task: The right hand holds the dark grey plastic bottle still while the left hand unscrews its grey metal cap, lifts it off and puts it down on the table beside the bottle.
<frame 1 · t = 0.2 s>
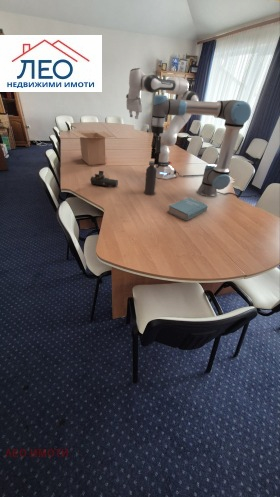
left hand: (133, 118, 170), 48 cm above the table, tool pointing down, fingers open, 8 cm apart
right hand: (154, 161, 148), 28 cm above the table, tool pointing down, fingers open, 13 cm apart
box: (93, 161, 237), on the table
cap: (152, 162, 162), point 24 cm above the table, screwed on, not yet turned
bottle: (149, 192, 176), on the table
book: (187, 212, 153), on the table
laser sight: (104, 185, 183), on the table
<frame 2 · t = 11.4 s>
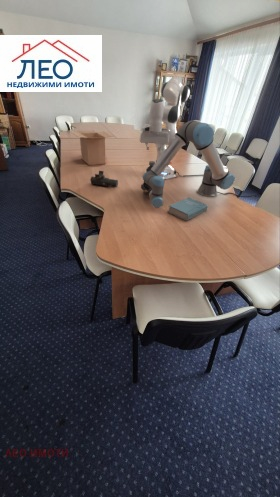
left hand: (153, 149, 157), 32 cm above the table, tool pointing down, fingers open, 7 cm apart
right hand: (149, 182, 176), 6 cm above the table, tool horizontal, fingers closed on bottle, 8 cm apart
bottle: (149, 192, 176), on the table, touching right hand
everything else where it was.
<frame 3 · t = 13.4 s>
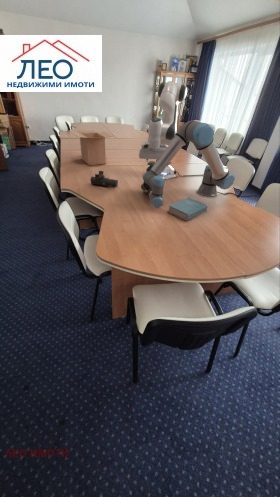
left hand: (151, 165, 163), 22 cm above the table, tool pointing down, fingers closed on cap, 4 cm apart
right hand: (149, 182, 176), 6 cm above the table, tool horizontal, fingers closed on bottle, 8 cm apart
cap: (152, 162, 162), point 24 cm above the table, screwed on, not yet turned, touching left hand
bottle: (149, 192, 176), on the table, touching right hand
everything else where it was.
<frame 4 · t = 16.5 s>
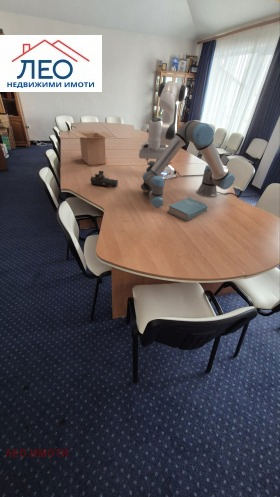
left hand: (151, 165, 163), 22 cm above the table, tool pointing down, fingers closed on cap, 4 cm apart
right hand: (149, 182, 176), 6 cm above the table, tool horizontal, fingers closed on bottle, 8 cm apart
cap: (152, 162, 162), point 24 cm above the table, turned 81° so far, risen 0.1 cm, still on its thread, touching left hand
bottle: (149, 192, 176), on the table, touching right hand
everything else where it was.
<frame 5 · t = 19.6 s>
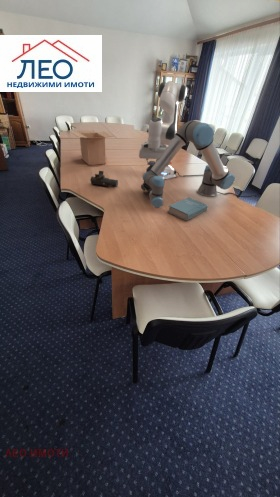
left hand: (151, 164, 163), 22 cm above the table, tool pointing down, fingers closed on cap, 4 cm apart
right hand: (149, 182, 176), 6 cm above the table, tool horizontal, fingers closed on bottle, 8 cm apart
cap: (152, 162, 162), point 24 cm above the table, turned 163° so far, risen 0.2 cm, still on its thread, touching left hand
bottle: (149, 192, 176), on the table, touching right hand
everything else where it was.
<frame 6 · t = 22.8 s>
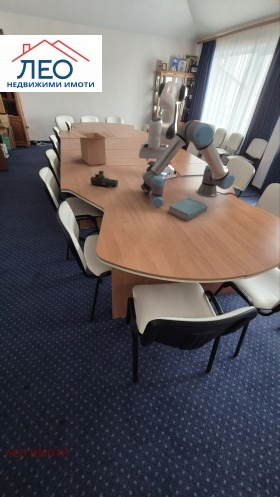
left hand: (151, 164, 163), 22 cm above the table, tool pointing down, fingers closed on cap, 4 cm apart
right hand: (149, 182, 176), 6 cm above the table, tool horizontal, fingers closed on bottle, 8 cm apart
cap: (152, 161, 162), point 24 cm above the table, turned 244° so far, risen 0.3 cm, still on its thread, touching left hand
bottle: (149, 192, 176), on the table, touching right hand
everything else where it was.
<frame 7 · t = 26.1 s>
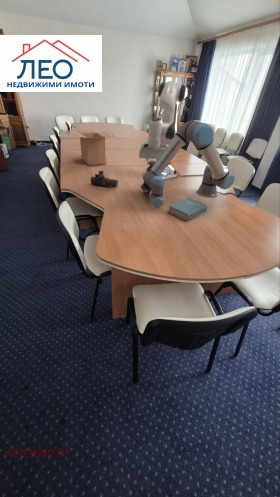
left hand: (151, 164, 163), 22 cm above the table, tool pointing down, fingers closed on cap, 4 cm apart
right hand: (149, 182, 176), 6 cm above the table, tool horizontal, fingers closed on bottle, 8 cm apart
cap: (152, 161, 162), point 24 cm above the table, turned 325° so far, risen 0.4 cm, still on its thread, touching left hand
bottle: (149, 192, 176), on the table, touching right hand
everything else where it was.
when the left hand's fingers open (2 cm above the table, at t = 35.6 s): cap drops 2 cm, point 2 cm above the table.
when the right hand's fingers open (6 cm above the table, at t = 36.7 s): bottle stays where it is, on the table.
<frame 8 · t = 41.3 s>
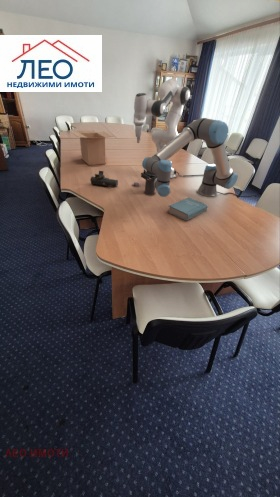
left hand: (138, 141, 167), 34 cm above the table, tool pointing down, fingers open, 8 cm apart
right hand: (153, 171, 157), 20 cm above the table, tool horizontal, fingers open, 13 cm apart
cap: (136, 183, 186), point 2 cm above the table, off its thread
bottle: (149, 193, 176), on the table
everything else where it was.
at the end: cap came off its thread; cap point 1.8 cm above the table; the left hand is holding nothing; the right hand is holding nothing; bottle tilted 0°; bottle moved 0.1 cm from its start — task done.
